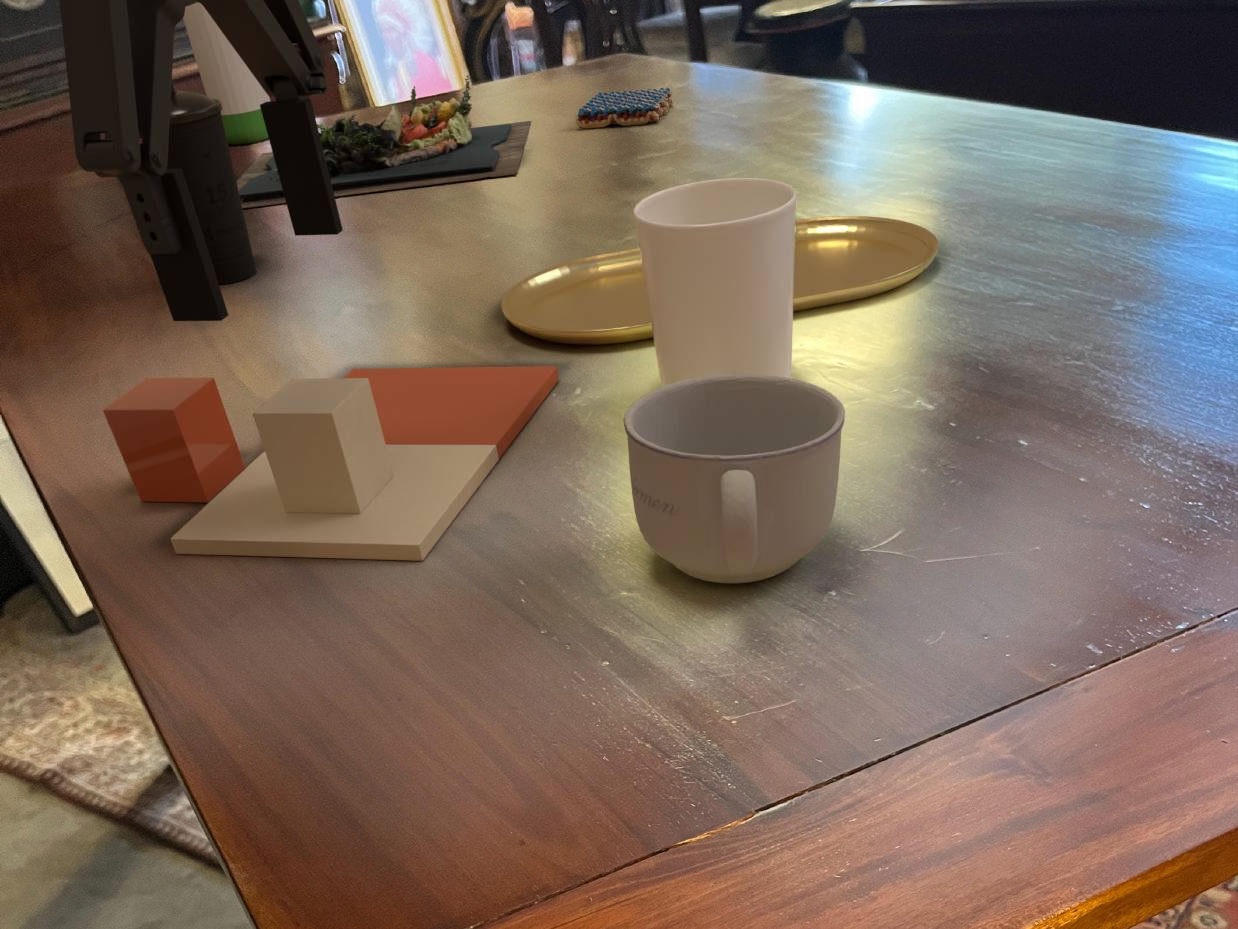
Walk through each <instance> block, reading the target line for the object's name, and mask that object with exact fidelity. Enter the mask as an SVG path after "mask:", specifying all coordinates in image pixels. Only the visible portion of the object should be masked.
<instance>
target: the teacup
mask: <svg viewBox="0 0 1238 929" xmlns="http://www.w3.org/2000/svg"><path fill="white" fill-rule="evenodd" d="M845 419H846V410H845V407H844V405H843V403H842V402H841V400H840V399H839V398H838V397H837V396H835V395H834V394H833V393H832V392H830V391H829V390H827V389H825V388H823V387H821V386H818V385H815V384H813V383H811V382H807V381H804V380H799V379H796V378H792V377H791V378H785V377H779V376H765V375H749V374H727V375H714V376H703V377H698V378H693V379H688V380H683V381H679V382H676V383H673V384H669V385H666V386H663V387H661V386H660V387H658V388H656V389H653V390H652V391H650V392H649V391H648V393H645V394H644V395H642V396H640V397H639V398H638V399H636V400H634V402H633V403H632V404H630V405H629V406H628V407H627V409H626V412H625V414H624V416H623V419H622V420H623V427H624V431H625V434H626V436H627V448H628V450H627V452H628V466H629V476H630V477H629V478H630V485H631V496H632V502H633V508H634V514H635V520H636V523H637V526H638V529H639V532H640V533H641V535H642V537H643V539H644V541H645V542H646V543H647V544H648V546H649V547H650V548H651V549H652V550H653V551H654V553H656V554H657V555H658V556H659V557H661V558H663V559H664V560H666V561H667V562H669V563H670V564H672V565H673V566H674V567H675V568H676V569H678V570H680V571H681V572H683V573H684V574H686V575H688V576H690V577H692V578H695V579H698V580H701V581H705V582H711V583H719V584H747V583H753V582H759V581H763V580H766V579H769V578H773V577H775V576H777V575H780V574H781V573H783V572H785V571H787V570H788V569H790V568H791V567H793V566H794V565H795V564H796V563H797V562H798V561H799V560H801V559H802V558H804V557H806V556H807V555H809V554H810V553H811V552H812V551H813V550H815V549H816V548H817V547H818V545H819V544H820V543H821V542H822V540H823V539H824V538H825V536H826V535H827V533H828V531H829V528H830V526H831V523H832V521H833V516H834V512H835V508H836V500H837V493H838V485H839V476H840V475H839V474H840V461H841V444H842V431H843V428H844V425H845Z"/></svg>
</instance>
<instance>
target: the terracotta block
mask: <svg viewBox="0 0 1238 929" xmlns="http://www.w3.org/2000/svg"><path fill="white" fill-rule="evenodd" d="M102 412H103V414H104V417H105V419H106V422H107V424H108V427H109V429H110V431H111V434H112V436H113V438H114V441H115V442H116V445H117V448H118V450H119V453H120V455H121V457H122V460H123V462H124V465H125V467H126V469H127V472H128V474H129V477H130V479H131V481H132V484H133V486H134V488H135V491H136V493H137V496H138V498H139V500H140V502H141V503H144V502H146V503H148V502H149V503H150V502H151V503H153V502H154V503H197V504H199V503H203V504H204V503H206V504H208V503H209V502H210V501H211V500H212V499H213V498H215V497H216V496H217V495H218V494H219V493H220V492H221V491H222V490H223V489H224V488H225V487H226V486H227V485H229V484H230V483H231V482H232V481H233V480H234V479H235V478H236V477H237V476H238V475H239V474H240V473H241V472H242V471H244V470H245V469H246V466H245V463H244V460H243V458H242V455H241V451H240V449H239V445H238V443H237V440H236V438H235V434H234V431H233V428H232V425H231V423H230V420H229V417H228V414H227V412H226V409H225V406H224V403H223V400H222V398H221V394H220V391H219V389H218V386H217V383H216V380H215V377H151V378H150V377H149V378H148V377H147V378H145V379H143V380H142V381H140V382H139V383H138V384H137V385H135V386H134V387H132V388H131V389H129V390H128V391H127V392H125V393H124V394H123V395H121V396H120V397H118V398H117V399H116V400H114V401H112V403H110V404H109V405H107V406H106V407H105V408H103V409H102Z"/></svg>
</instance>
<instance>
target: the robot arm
mask: <svg viewBox="0 0 1238 929" xmlns="http://www.w3.org/2000/svg"><path fill="white" fill-rule="evenodd" d="M58 2H59V9H60V17H61V18H60V19H61V20H60V21H61V28H62V29H61V30H62V39H63V40H62V41H63V48H64V57H65V65H66V66H65V67H66V78H67V85H68V86H67V88H68V95H69V96H68V97H69V106H70V114H71V115H70V116H71V123H72V124H71V125H72V133H73V134H72V135H73V142H74V152H75V158H76V160H77V162H78V166H80V168H81V169H82V170H83V171H85V172H86V173H94V174H95V175H96V176H97V177H99V178H101V179H105V178H106V179H108V178H116V179H117V180H118V181H119V182H120V184H121V186H122V188H123V191H124V194H125V196H126V197H125V198H126V200H127V202H128V205H129V209H130V211H131V214H132V216H133V220H134V221H135V225H136V228H137V230H138V231H139V232H138V234H139V236H140V239H141V242H142V245H143V246H144V248H145V250H146V252H147V253H148V255H150V259H151V261H152V264H153V266H154V269H155V271H156V275H157V278H158V280H159V283H160V286H161V289H162V292H163V295H164V299H165V301H166V304H167V307H168V310H169V313H170V316H171V318H172V321H173V322H222V321H224V320H225V319H227V317H228V316H229V312H228V308H227V305H226V302H225V300H224V296H223V294H222V291H221V287H220V284H218V281H217V277H216V274H215V271H214V268H213V265H212V262H211V259H210V256H209V252H208V249H207V246H206V243H205V240H204V237H203V234H202V230H201V227H200V224H199V221H198V218H197V215H196V212H195V209H194V205H193V202H192V199H191V196H190V193H189V190H188V187H187V184H186V180H185V177H184V174H183V171H182V169H167V160H168V142H169V123H170V104H171V86H172V83H173V67H174V66H173V64H174V49H175V48H174V47H175V31H176V30H175V29H176V26H177V25H178V24H179V23H180V22H181V21H182V20H183V17H184V14H185V6H189V5H192V4H195V3H196V2H199V3H201V4H202V5H203V6H204V8H205V9H206V11H207V12H208V13H209V15H210V16H211V18H212V19H213V20H214V22H215V23H216V24H217V26H218V27H219V29H220V30H221V31H222V33H223V34H224V35H225V37H226V38H227V40H228V41H229V42H230V44H231V45H232V46H233V48H234V49H235V51H236V52H237V53H238V55H239V56H240V58H241V59H242V60H243V62H244V63H245V64H246V66H247V67H248V69H249V70H250V71H251V73H252V74H253V75H254V77H255V78H256V80H257V81H258V82H259V84H260V85H261V86H262V88H263V89H264V91H265V92H266V93H267V95H268V96H269V98H271V99H275V100H273V101H271V100H270V101H269V102H265V103H263V104H261V105H260V108H261V112H262V115H263V119H264V123H265V126H266V130H267V134H268V137H269V138H268V141H269V145H270V148H271V152H273V156H274V160H275V163H276V167H277V171H278V174H279V178H280V182H281V185H282V189H283V193H284V196H285V200H286V203H285V204H286V207H287V210H288V214H289V219H290V222H291V226H292V230H293V233H294V236H297V237H299V236H331V235H333V236H334V235H339V234H340V233H342V232H343V231H344V229H343V225H342V221H341V216H340V212H339V209H338V204H337V201H336V196H334V192H333V188H332V184H331V180H330V176H329V172H328V168H327V164H326V160H325V156H324V151H323V147H322V143H321V139H320V135H319V133H320V131H319V128H318V127H317V124H318V123H317V119H316V115H315V110H314V108H313V107H314V106H313V103H312V99H311V96H325V95H326V94H327V91H328V80H327V77H326V73H325V72H326V71H325V70H326V59H325V56H324V53H323V51H322V49H321V47H320V44H319V42H318V40H317V38H316V36H315V33H314V31H313V29H312V26H311V25H310V22H309V20H308V17H307V15H306V13H305V11H304V9H303V7H302V5H301V2H300V0H58ZM296 44H297V47H298V48H296V47H295V46H294V45H296ZM101 134H104V138H103V139H102V136H101ZM140 140H141V142H140Z"/></svg>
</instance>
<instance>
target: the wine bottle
mask: <svg viewBox="0 0 1238 929" xmlns="http://www.w3.org/2000/svg"><path fill="white" fill-rule="evenodd" d="M182 20H183V23H184V26H185V29H186V32H187V36H188V39H189V42H190V46H191V49H192V53H193V56H194V59H195V63H196V65H197V66H196V67H197V70H198V72H199V76H200V79H201V82H202V85H203V88H204V92H205V96H207V97H209V98H211V99H217V100H220V101H221V103H222V106H223V109H222V110H221V115H222V120H223V124H224V129H225V133H226V138H227V142H228V145H232V146H240V145H241V146H242V145H249V144H254V143H259V142H263V141H266V140H269V137H268V134H267V130H266V126H265V123H264V119H263V115H262V112H261V108H260V105H261V104H263V103H265V102H269V101H271V99H270V98H271V97H269V96H268V95H267V93H266V92H265V91H264V89H263V88H262V86H261V85H260V84H259V82H258V81H257V80H256V78H255V77H254V75H253V74H252V73H251V71H250V70H249V69H248V67H247V66H246V64H245V63H244V62H243V60H242V59H241V58H240V56H239V55H238V53H237V52H236V51H235V49H234V48H233V46H232V45H231V44H230V42H229V41H228V40H227V38H226V37H225V35H224V34H223V33H222V31H221V30H220V29H219V27H218V26H217V24H216V23H215V22H214V20H213V19H212V18H211V16H210V15H209V13H208V12H207V11H206V9H205V8H204V6H203V5H202V4H201V3H199V2H196V3H195V4H192V5H189V6H185V14H184V17H183V19H182Z"/></svg>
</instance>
